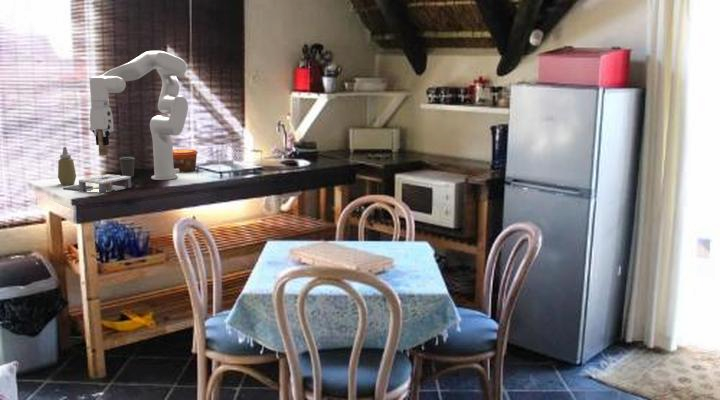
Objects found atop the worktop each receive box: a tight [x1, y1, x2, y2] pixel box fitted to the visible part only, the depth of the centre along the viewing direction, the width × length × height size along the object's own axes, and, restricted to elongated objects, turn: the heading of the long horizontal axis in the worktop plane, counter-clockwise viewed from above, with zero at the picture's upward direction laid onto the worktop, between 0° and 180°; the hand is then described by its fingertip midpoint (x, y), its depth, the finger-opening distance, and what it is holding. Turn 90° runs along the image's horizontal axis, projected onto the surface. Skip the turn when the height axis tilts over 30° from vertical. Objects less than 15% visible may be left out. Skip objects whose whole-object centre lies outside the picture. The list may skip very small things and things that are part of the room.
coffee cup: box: [118, 156, 136, 178], centre depth 360 cm, size 8×8×10 cm
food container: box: [173, 148, 198, 173], centre depth 379 cm, size 16×16×11 cm
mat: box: [62, 184, 94, 192], centre depth 326 cm, size 9×9×1 cm
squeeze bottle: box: [57, 146, 77, 186], centre depth 335 cm, size 8×8×18 cm
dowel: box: [98, 129, 108, 156], centre depth 320 cm, size 3×3×13 cm
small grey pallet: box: [78, 173, 132, 194], centre depth 324 cm, size 18×14×5 cm
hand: (102, 144), depth 320 cm, fingers closed on dowel, 3 cm apart
